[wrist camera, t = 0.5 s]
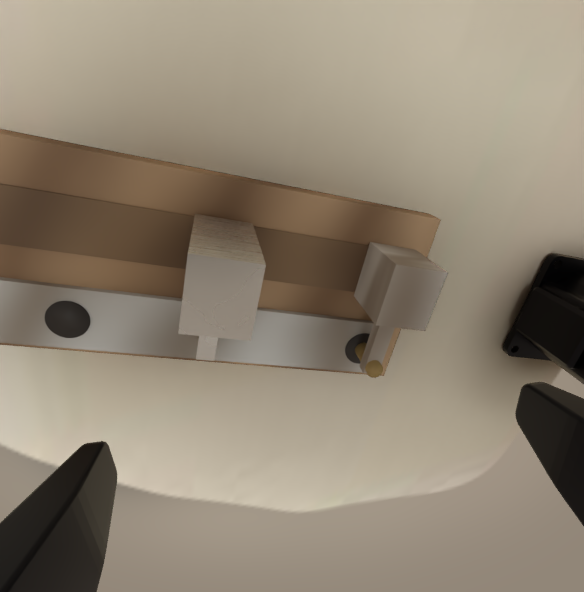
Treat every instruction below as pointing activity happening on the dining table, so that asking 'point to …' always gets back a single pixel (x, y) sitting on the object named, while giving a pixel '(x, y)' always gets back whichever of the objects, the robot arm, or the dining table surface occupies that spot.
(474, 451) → the dining table surface
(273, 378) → the dining table surface
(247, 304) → the block
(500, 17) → the dining table surface
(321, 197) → the board
